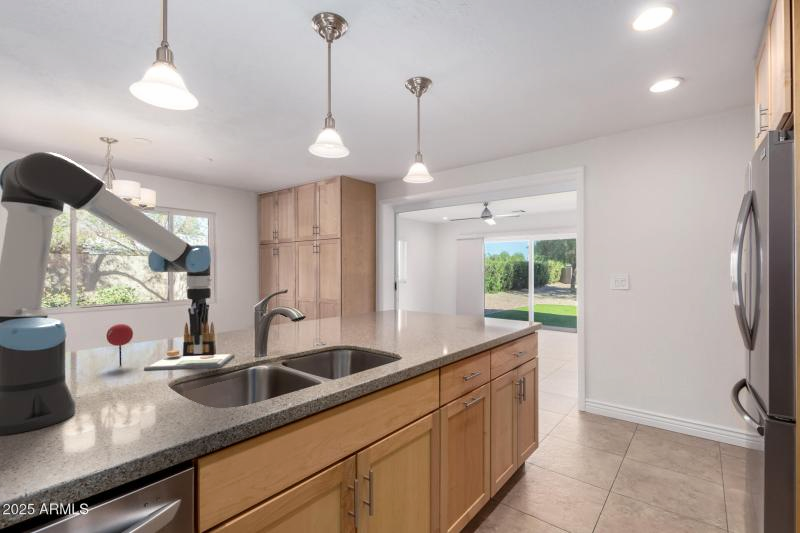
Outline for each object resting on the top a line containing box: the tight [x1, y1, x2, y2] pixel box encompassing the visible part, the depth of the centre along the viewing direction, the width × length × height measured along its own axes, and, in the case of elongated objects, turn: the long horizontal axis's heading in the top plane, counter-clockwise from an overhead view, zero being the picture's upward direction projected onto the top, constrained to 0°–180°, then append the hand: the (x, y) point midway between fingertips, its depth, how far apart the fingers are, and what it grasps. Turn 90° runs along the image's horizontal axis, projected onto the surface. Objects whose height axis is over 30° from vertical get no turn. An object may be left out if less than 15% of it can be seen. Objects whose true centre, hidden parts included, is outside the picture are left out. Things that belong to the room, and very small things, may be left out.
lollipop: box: [106, 323, 134, 366], centre depth 135 cm, size 8×8×15 cm
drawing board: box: [143, 353, 235, 371], centre depth 138 cm, size 16×25×1 cm, turn 98°
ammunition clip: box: [182, 321, 217, 356], centre depth 135 cm, size 11×2×12 cm, turn 98°
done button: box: [166, 349, 180, 356], centre depth 142 cm, size 4×4×1 cm
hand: (199, 352), depth 135 cm, fingers closed on ammunition clip, 2 cm apart
